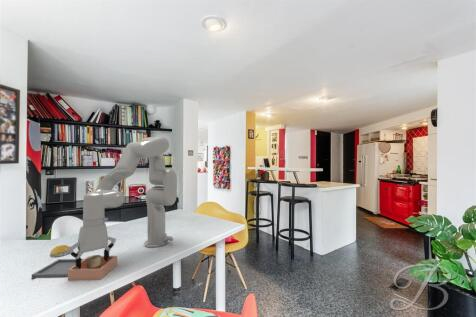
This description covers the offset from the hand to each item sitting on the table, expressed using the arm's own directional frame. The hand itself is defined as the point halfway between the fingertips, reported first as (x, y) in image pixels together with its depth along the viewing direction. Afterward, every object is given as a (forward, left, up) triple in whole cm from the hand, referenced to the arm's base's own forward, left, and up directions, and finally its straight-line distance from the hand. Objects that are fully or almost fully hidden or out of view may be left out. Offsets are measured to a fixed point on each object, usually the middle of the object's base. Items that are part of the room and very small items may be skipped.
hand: (92, 263), depth 94 cm
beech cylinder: (0, 0, -4) cm, 4 cm away
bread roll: (+29, -21, -5) cm, 36 cm away
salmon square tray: (0, 0, -4) cm, 4 cm away
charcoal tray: (+15, -3, -4) cm, 16 cm away
